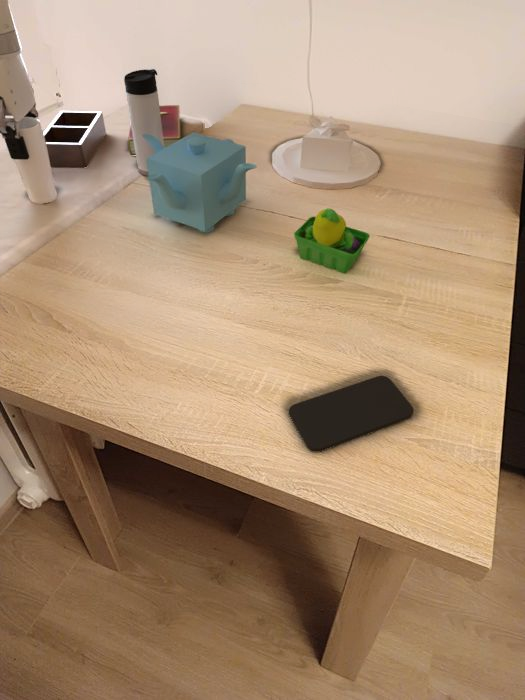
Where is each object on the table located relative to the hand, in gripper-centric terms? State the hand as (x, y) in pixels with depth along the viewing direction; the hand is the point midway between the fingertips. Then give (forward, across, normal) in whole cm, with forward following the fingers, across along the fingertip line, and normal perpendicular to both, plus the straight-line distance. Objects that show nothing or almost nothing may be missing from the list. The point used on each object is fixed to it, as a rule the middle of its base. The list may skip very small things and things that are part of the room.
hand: (28, 148), depth 94 cm
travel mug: (+11, -14, +20) cm, 27 cm away
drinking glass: (+11, 0, 0) cm, 11 cm away
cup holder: (+10, -24, 0) cm, 26 cm away
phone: (+10, +54, +56) cm, 78 cm away
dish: (+11, -19, +59) cm, 63 cm away
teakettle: (+11, +6, +32) cm, 34 cm away
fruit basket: (+11, +20, +56) cm, 60 cm away
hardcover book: (+11, -32, +18) cm, 38 cm away
